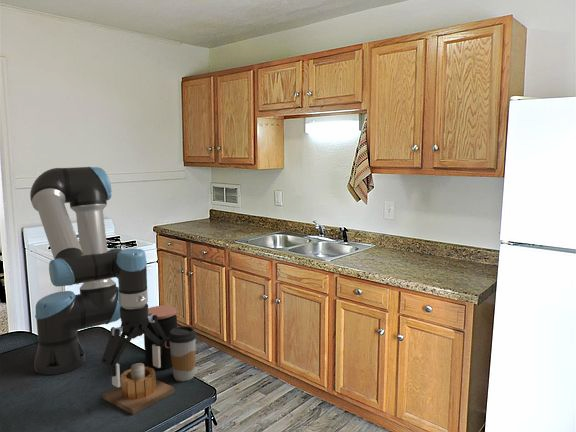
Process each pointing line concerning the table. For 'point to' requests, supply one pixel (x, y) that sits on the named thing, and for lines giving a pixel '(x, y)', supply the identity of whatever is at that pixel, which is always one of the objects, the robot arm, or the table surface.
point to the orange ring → (138, 384)
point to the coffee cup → (183, 352)
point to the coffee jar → (167, 323)
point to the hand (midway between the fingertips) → (137, 375)
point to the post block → (142, 403)
